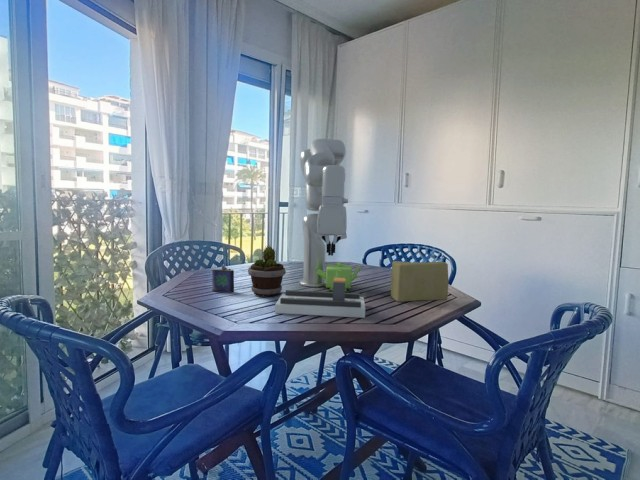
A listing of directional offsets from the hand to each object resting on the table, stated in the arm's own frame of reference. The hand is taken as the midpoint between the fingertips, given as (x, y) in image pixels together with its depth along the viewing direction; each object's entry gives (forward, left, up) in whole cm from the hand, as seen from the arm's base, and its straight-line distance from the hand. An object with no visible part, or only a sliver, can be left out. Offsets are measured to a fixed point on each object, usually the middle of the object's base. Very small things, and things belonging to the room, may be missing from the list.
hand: (330, 254), depth 134 cm
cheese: (-20, +36, -20) cm, 45 cm away
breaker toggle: (+1, +3, -16) cm, 16 cm away
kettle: (-30, +3, -19) cm, 36 cm away
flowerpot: (-16, -26, -19) cm, 36 cm away
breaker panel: (+1, -3, -19) cm, 19 cm away
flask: (-17, -44, -19) cm, 51 cm away
